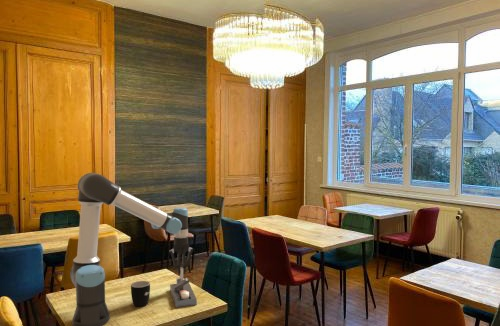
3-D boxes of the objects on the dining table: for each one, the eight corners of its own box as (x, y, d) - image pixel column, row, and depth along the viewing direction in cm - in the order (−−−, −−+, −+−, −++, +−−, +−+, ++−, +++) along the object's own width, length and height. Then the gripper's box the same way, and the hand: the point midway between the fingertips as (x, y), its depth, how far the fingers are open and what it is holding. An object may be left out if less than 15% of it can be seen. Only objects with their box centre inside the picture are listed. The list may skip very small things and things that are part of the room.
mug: (145, 308, 178) (145, 287, 177) (127, 307, 179) (127, 286, 179) (155, 298, 189) (155, 279, 189) (138, 297, 191) (138, 278, 190)
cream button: (181, 300, 181) (181, 294, 181) (180, 297, 184) (180, 291, 184) (189, 299, 182) (189, 293, 182) (188, 296, 186) (188, 290, 186)
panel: (175, 307, 178) (175, 298, 178) (170, 289, 201) (170, 281, 201) (196, 304, 182) (196, 295, 181) (188, 287, 204) (188, 279, 204)
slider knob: (177, 284, 199) (176, 279, 199) (176, 282, 202) (176, 277, 202) (180, 284, 200) (180, 278, 200) (180, 282, 203) (180, 277, 203)
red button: (180, 299, 187) (180, 293, 187) (179, 296, 190) (179, 290, 190) (187, 298, 188) (187, 292, 188) (186, 295, 191) (186, 289, 191)
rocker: (175, 290, 192) (174, 288, 191) (174, 287, 195) (173, 285, 195) (189, 281, 194) (188, 279, 194) (188, 279, 198) (187, 277, 197)
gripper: (169, 239, 195) (170, 283, 196) (194, 237, 199) (195, 280, 200) (167, 236, 202) (168, 279, 203) (192, 234, 206) (192, 276, 207)
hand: (181, 280), depth 202 cm, fingers closed
